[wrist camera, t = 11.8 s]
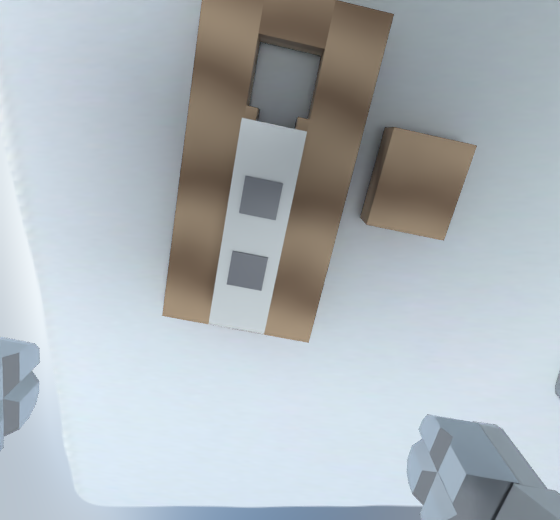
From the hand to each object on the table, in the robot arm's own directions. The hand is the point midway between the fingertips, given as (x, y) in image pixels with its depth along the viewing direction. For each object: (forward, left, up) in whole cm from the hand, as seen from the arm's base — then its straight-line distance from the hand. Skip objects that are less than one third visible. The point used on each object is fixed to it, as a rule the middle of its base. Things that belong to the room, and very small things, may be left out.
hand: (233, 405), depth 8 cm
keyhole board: (-2, -1, -24) cm, 24 cm away
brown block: (-4, +10, -24) cm, 26 cm away
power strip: (+1, -1, -22) cm, 22 cm away
